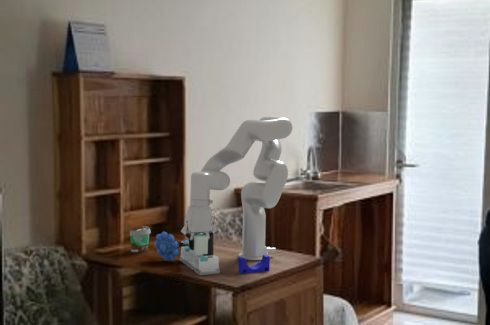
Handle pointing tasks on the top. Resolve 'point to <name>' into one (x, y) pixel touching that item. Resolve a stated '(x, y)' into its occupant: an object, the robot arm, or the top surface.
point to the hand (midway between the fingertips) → (198, 248)
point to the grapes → (166, 246)
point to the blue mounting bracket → (258, 267)
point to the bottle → (210, 244)
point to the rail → (200, 262)
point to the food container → (140, 240)
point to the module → (200, 244)
